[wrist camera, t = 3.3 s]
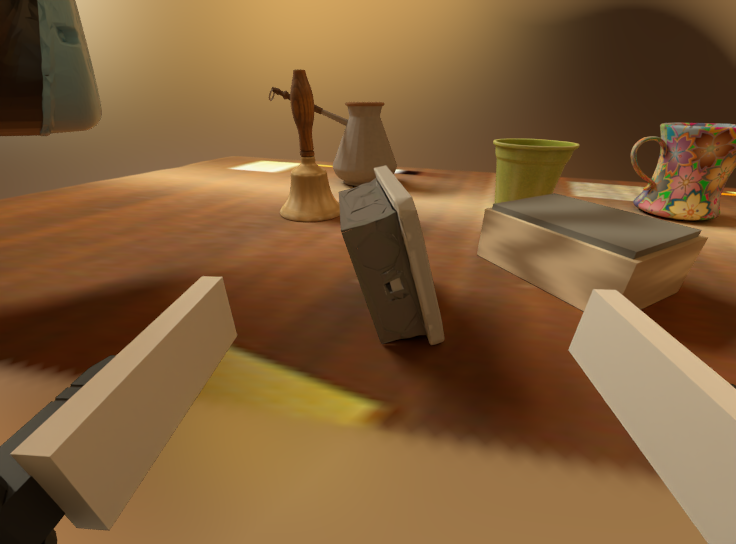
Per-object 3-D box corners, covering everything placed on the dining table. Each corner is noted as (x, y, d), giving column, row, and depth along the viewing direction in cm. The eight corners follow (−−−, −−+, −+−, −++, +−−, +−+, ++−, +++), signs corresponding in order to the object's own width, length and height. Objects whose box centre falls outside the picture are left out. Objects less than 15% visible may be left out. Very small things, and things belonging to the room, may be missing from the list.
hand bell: (348, 219, 39) (344, 67, 32) (280, 224, 37) (258, 65, 30) (337, 201, 46) (332, 73, 39) (279, 205, 44) (262, 72, 37)
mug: (685, 205, 45) (726, 123, 40) (742, 228, 37) (802, 128, 31) (593, 201, 46) (621, 122, 41) (628, 222, 38) (668, 126, 33)
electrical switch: (446, 350, 18) (452, 195, 14) (359, 363, 18) (337, 209, 14) (412, 274, 27) (408, 161, 22) (351, 282, 26) (336, 169, 22)
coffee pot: (394, 175, 62) (398, 88, 55) (398, 189, 52) (403, 85, 45) (287, 175, 63) (277, 88, 56) (271, 189, 53) (256, 85, 45)
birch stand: (476, 254, 30) (486, 203, 28) (540, 238, 34) (553, 191, 31) (608, 324, 21) (640, 255, 18) (677, 292, 24) (711, 231, 22)
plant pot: (490, 198, 48) (502, 136, 44) (560, 207, 43) (580, 140, 39) (473, 214, 41) (485, 143, 37) (554, 227, 36) (578, 148, 32)
